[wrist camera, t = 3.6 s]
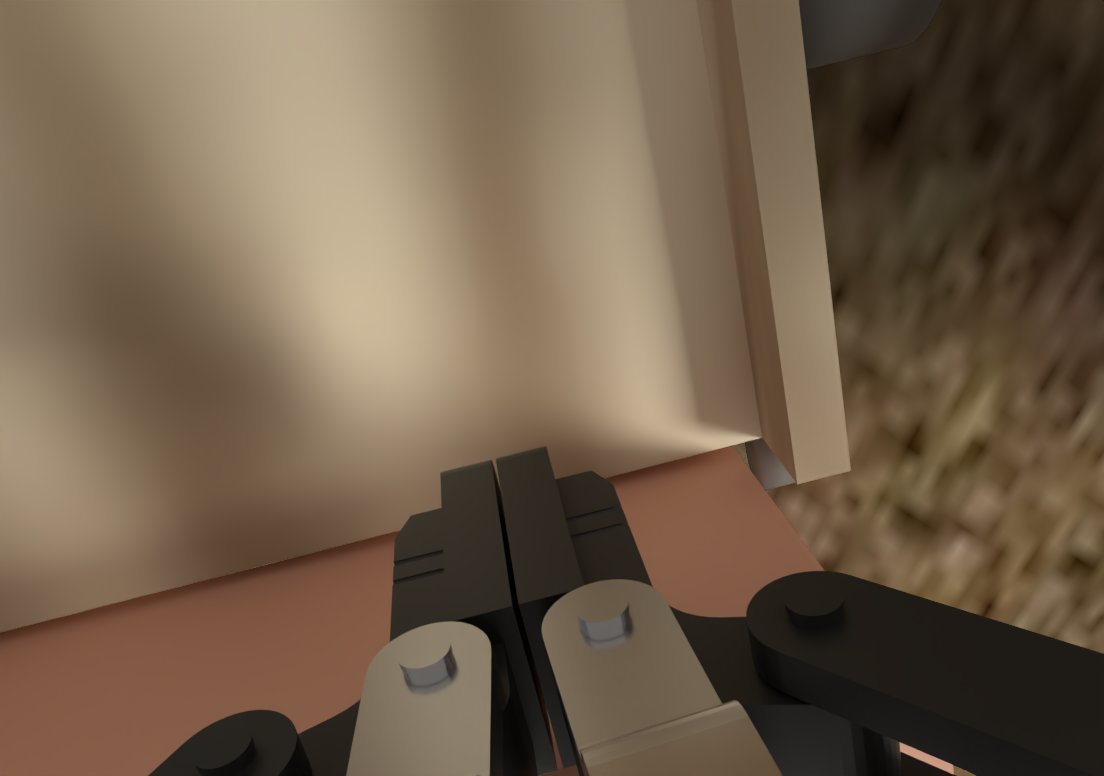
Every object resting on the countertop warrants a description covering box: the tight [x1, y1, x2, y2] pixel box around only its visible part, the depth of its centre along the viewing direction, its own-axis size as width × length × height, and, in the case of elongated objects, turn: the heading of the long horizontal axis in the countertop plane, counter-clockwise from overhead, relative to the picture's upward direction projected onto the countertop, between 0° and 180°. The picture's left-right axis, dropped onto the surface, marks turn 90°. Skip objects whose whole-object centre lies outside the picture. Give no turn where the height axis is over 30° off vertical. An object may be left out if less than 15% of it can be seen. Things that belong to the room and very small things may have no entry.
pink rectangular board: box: [0, 446, 954, 776], centre depth 16 cm, size 19×1×9 cm, turn 102°
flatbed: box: [0, 0, 941, 632], centre depth 17 cm, size 27×18×5 cm, turn 102°
